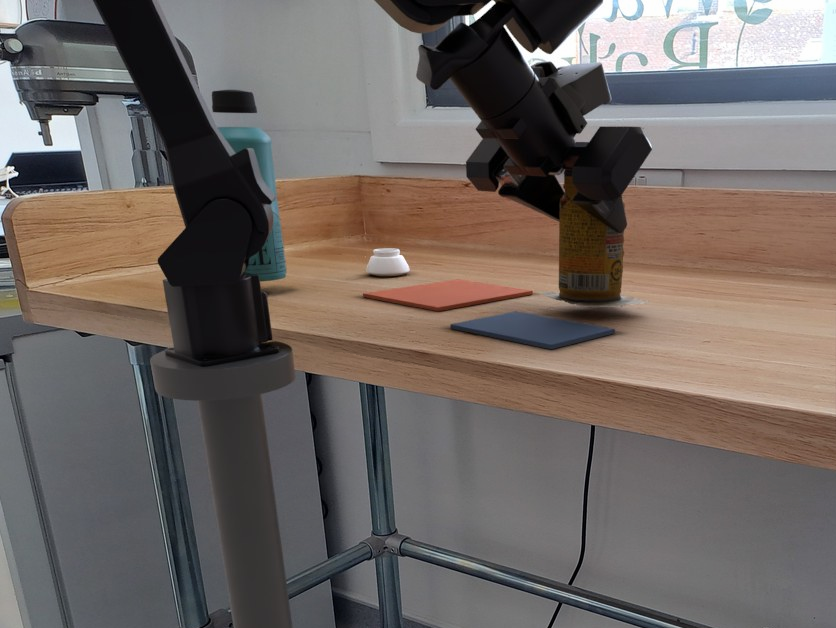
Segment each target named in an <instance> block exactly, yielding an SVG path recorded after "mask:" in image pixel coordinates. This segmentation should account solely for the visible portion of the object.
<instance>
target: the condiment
mask: <svg viewBox="0 0 836 628" xmlns="http://www.w3.org/2000/svg"><path fill="white" fill-rule="evenodd" d="M562 188H563V190H564V192H565V194H564V195H563V196H562V198H561V199H560V204H559V207H560V213H559V214H560V216H559V222H558V225H559V226H558V227H559V229H558V230H559V231H558V290H559V291H557V292H555V291H551V292H539V294H540V295H543V296H545V297H547V298H550V299H552V300H556V301H560V302H561V301H562V302H564V303H568V304H570V305H575V306H577V307H582V308H585V307H587V308H600V307H601V308H602V307H603V308H604V307H605V308H609V307H620V308H623V307H624V306H630V305H633V306H634V305H641V304H642V305H643V304H649V303H650V302H649V301H646V300H642V299H640V298H635V297H633V296H626V295H622V294H621V293H622V286H623V273H624V256H625V251H624V249H625V248H624V243H625V237H624V236H625V230H624V231H623V233H618V232H616V231H614V230H613V229H611V228H610V227H608V226H607V225H605V224H604V223H602V222H601V221H600V220H598V219H597V218H595V217H594V216H593V215H591V214H590V213H588V212H587V211H585V210H584V209H583V208H581V207H580V206H578V205H577V204H575V203H574V202H573V201H572V199H573V198H574V197H575V195H576V194H577V192H578V190H577V189H576V187H575V186H574V184H573V183H572V170H564V171H563V185H562ZM623 205H624V210H625V211H626V209H625V207H626V206H625V201H624V200H623Z"/></svg>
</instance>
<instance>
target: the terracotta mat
mask: <svg viewBox="0 0 836 628" xmlns="http://www.w3.org/2000/svg"><path fill="white" fill-rule="evenodd" d="M533 294H534V290H532V289H524V288H519V287H511V286H505V285H500V284H492V283H487V282H479V281H472V280H467V279H459V278H456V279H449V280H443V281H437V282H430V283H423V284H416V285H410V286H409V285H408V286H402V287H396V288H388V289H383V290H376V291H368V292H363V293H362V297H363V298H367V299H372V300H377V301H382V302H387V303H393V304H398V305H404V306H408V307H412V308H413V307H414V308H417V309H418V308H419V309H424V310H429V311H434V312H440V311H441V312H442V311H447V310H453V309H458V308H464V307H470V306H476V305H480V304H485V303H492V302H497V301H503V300H509V299H513V298H514V299H515V298H520V297H526V296H531V295H533Z"/></svg>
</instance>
